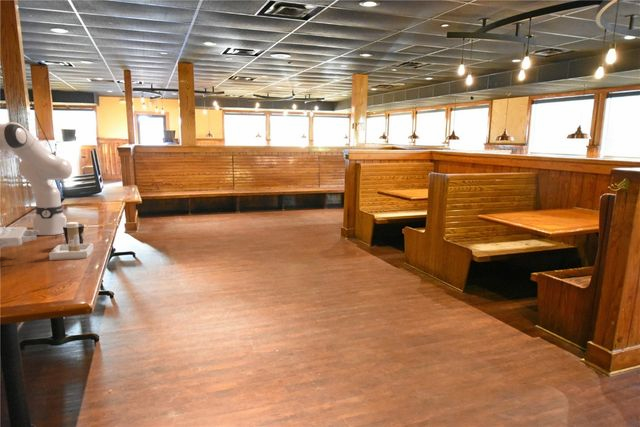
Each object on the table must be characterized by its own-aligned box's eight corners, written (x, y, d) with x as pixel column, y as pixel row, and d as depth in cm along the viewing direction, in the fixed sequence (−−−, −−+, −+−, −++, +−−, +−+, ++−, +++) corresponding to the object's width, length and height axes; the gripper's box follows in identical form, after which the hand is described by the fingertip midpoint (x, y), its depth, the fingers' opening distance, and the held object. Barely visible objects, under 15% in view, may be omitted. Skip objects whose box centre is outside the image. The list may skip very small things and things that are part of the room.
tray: (58, 251, 192) (58, 244, 192) (93, 249, 197) (93, 243, 196) (49, 260, 179) (49, 253, 179) (87, 258, 183) (86, 251, 183)
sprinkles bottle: (66, 253, 187) (63, 223, 185) (75, 250, 191) (73, 221, 189) (73, 254, 185) (70, 224, 183) (82, 252, 189) (80, 222, 187)
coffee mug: (76, 249, 196) (74, 228, 194) (59, 248, 198) (58, 226, 196) (94, 243, 207) (92, 223, 205) (78, 242, 209) (77, 221, 207)
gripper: (-9, 235, 165) (34, 232, 171) (1, 225, 183) (39, 222, 189) (-7, 251, 166) (35, 248, 172) (2, 239, 184) (40, 236, 190)
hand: (37, 234), depth 181 cm, fingers open, 8 cm apart
